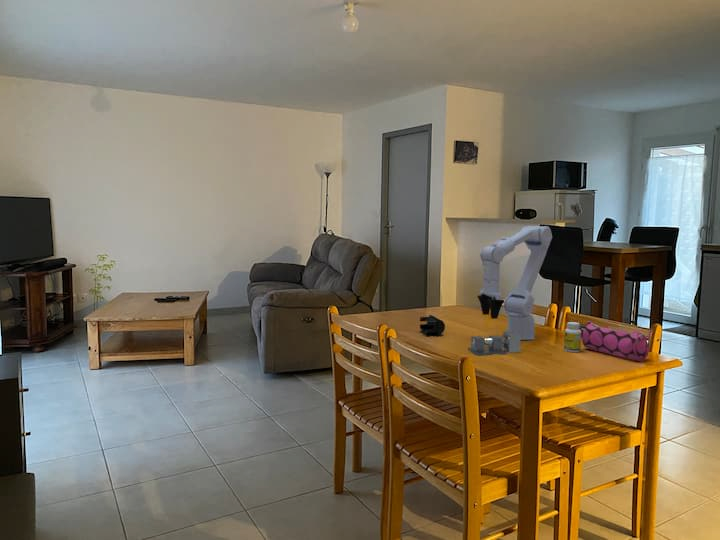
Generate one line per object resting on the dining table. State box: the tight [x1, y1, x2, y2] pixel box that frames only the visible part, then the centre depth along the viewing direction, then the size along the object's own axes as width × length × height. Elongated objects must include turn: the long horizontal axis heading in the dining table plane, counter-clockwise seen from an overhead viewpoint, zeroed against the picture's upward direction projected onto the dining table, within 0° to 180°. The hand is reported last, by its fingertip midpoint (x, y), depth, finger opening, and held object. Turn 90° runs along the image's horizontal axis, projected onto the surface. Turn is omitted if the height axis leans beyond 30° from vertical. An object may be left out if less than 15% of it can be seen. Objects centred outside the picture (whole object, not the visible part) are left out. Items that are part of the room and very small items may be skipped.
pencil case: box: [581, 320, 650, 362], centre depth 184 cm, size 21×10×10 cm, turn 33°
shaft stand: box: [467, 334, 508, 356], centre depth 187 cm, size 16×8×5 cm, turn 100°
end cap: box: [419, 314, 446, 338], centre depth 214 cm, size 10×7×7 cm
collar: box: [502, 330, 521, 354], centre depth 188 cm, size 4×5×6 cm
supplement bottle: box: [563, 321, 582, 353], centre depth 189 cm, size 5×5×10 cm
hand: (489, 316), depth 198 cm, fingers open, 7 cm apart
